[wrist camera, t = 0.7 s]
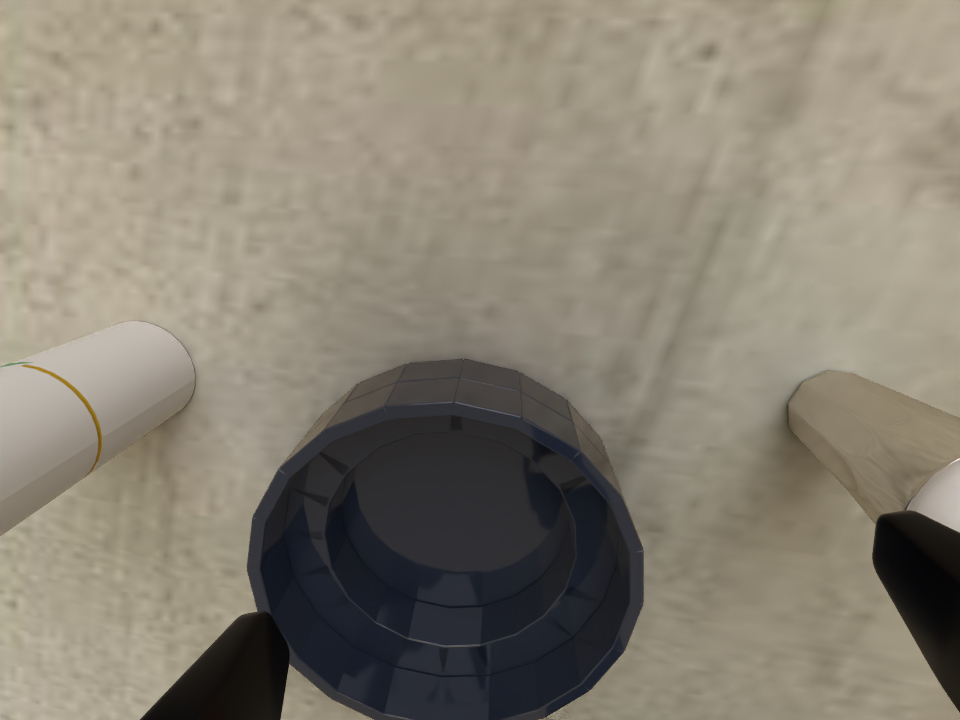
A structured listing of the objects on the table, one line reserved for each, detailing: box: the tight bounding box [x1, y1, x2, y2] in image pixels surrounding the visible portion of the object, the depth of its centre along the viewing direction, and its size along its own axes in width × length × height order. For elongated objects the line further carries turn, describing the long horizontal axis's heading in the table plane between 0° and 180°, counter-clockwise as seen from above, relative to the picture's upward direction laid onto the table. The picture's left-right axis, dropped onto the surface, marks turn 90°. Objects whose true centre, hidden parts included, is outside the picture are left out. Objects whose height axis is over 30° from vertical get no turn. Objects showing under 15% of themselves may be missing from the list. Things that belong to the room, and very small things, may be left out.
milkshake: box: [788, 371, 960, 533], centre depth 18 cm, size 4×5×10 cm
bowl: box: [247, 359, 644, 720], centre depth 22 cm, size 14×14×5 cm
